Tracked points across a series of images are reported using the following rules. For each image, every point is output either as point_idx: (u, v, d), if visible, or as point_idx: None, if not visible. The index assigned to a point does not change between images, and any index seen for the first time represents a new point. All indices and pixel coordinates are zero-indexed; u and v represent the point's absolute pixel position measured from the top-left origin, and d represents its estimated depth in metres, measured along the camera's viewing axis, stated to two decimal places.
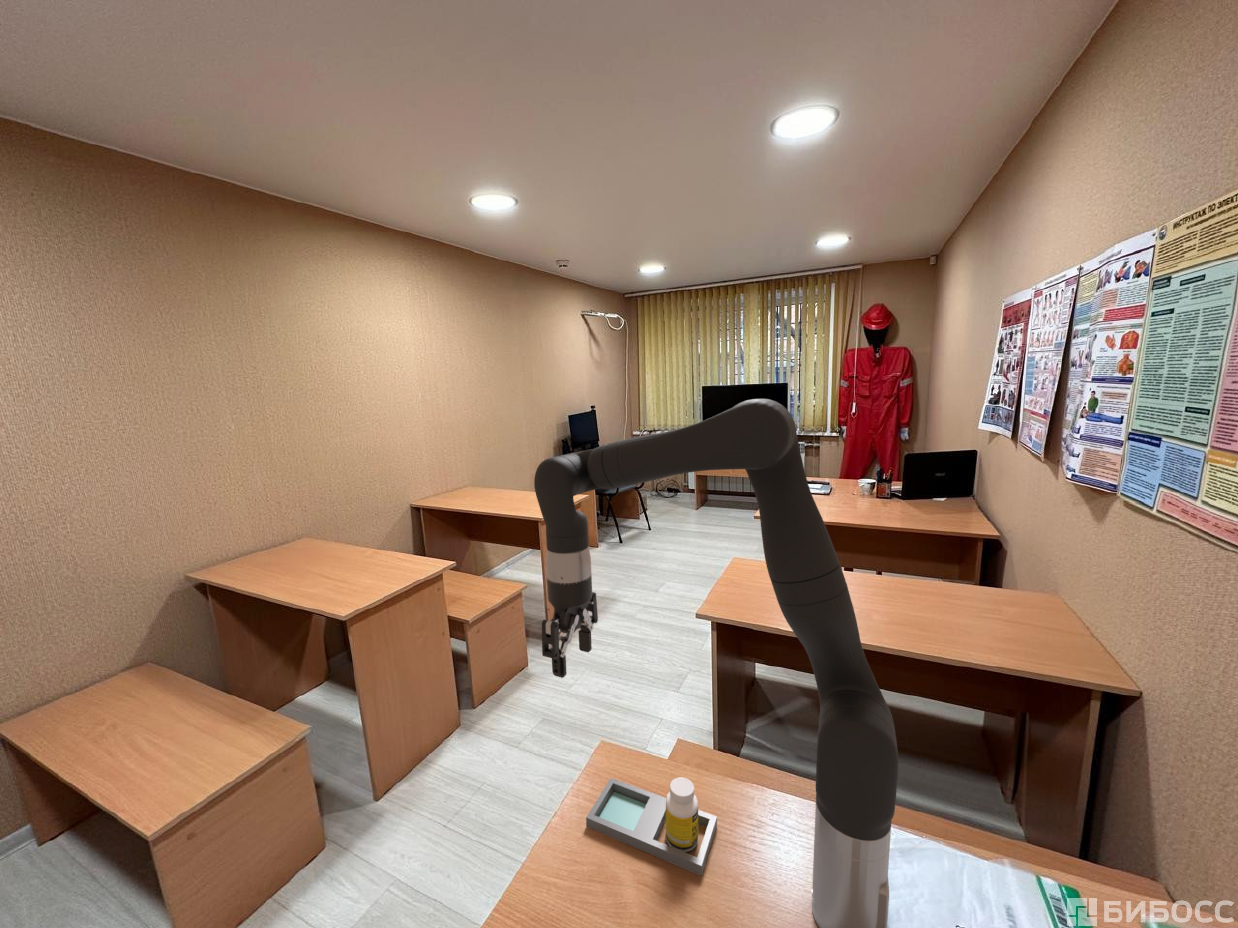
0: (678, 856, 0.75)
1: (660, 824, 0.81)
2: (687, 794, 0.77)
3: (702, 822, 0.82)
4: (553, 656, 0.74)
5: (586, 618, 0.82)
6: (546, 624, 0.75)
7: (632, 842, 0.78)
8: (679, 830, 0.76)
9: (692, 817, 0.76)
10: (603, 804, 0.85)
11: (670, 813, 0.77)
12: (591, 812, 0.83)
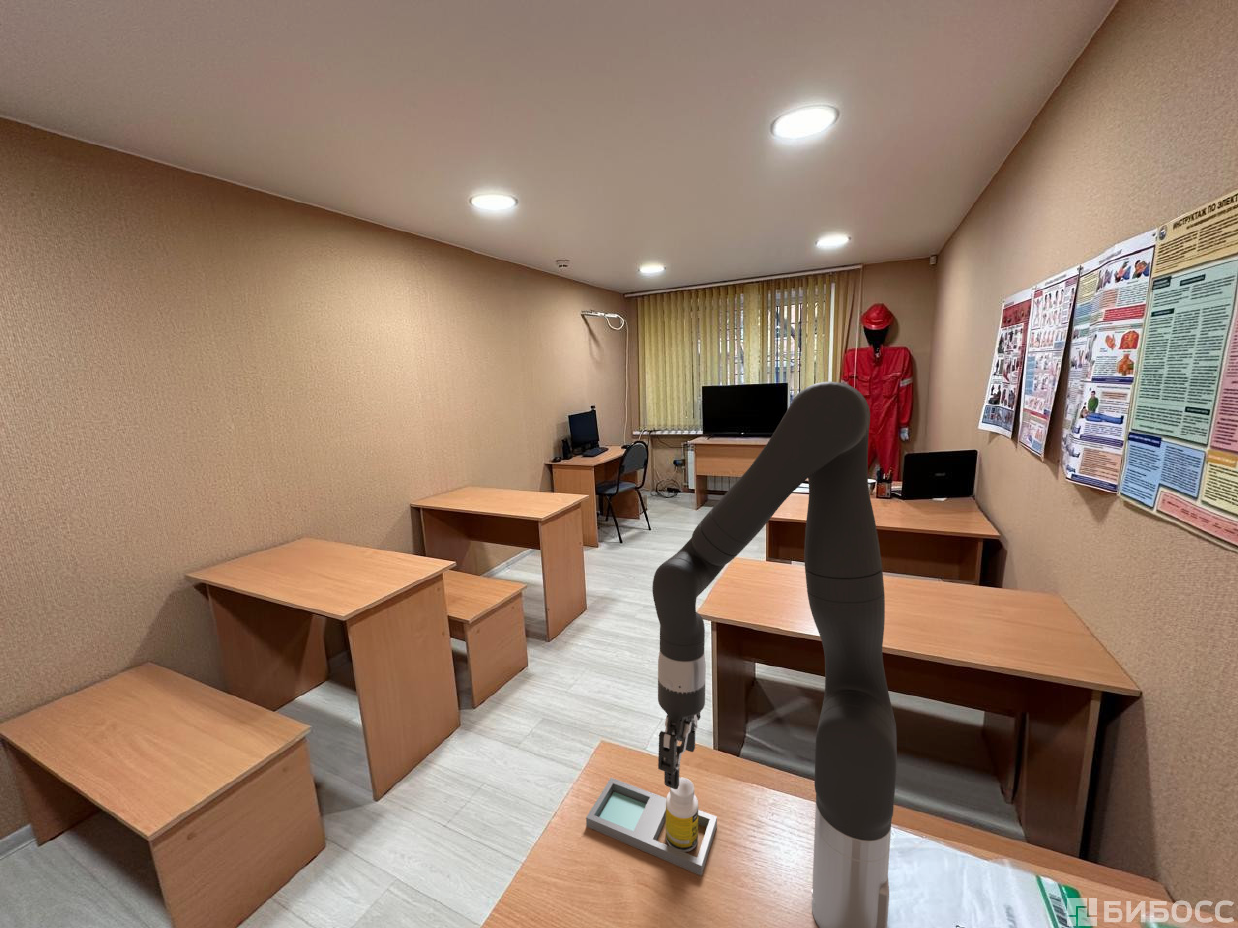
0: (678, 856, 0.75)
1: (660, 824, 0.81)
2: (687, 794, 0.77)
3: (702, 822, 0.82)
4: (671, 771, 0.70)
5: (695, 720, 0.78)
6: (664, 737, 0.70)
7: (632, 842, 0.78)
8: (679, 830, 0.76)
9: (692, 817, 0.76)
10: (603, 804, 0.85)
11: (670, 812, 0.77)
12: (591, 812, 0.83)
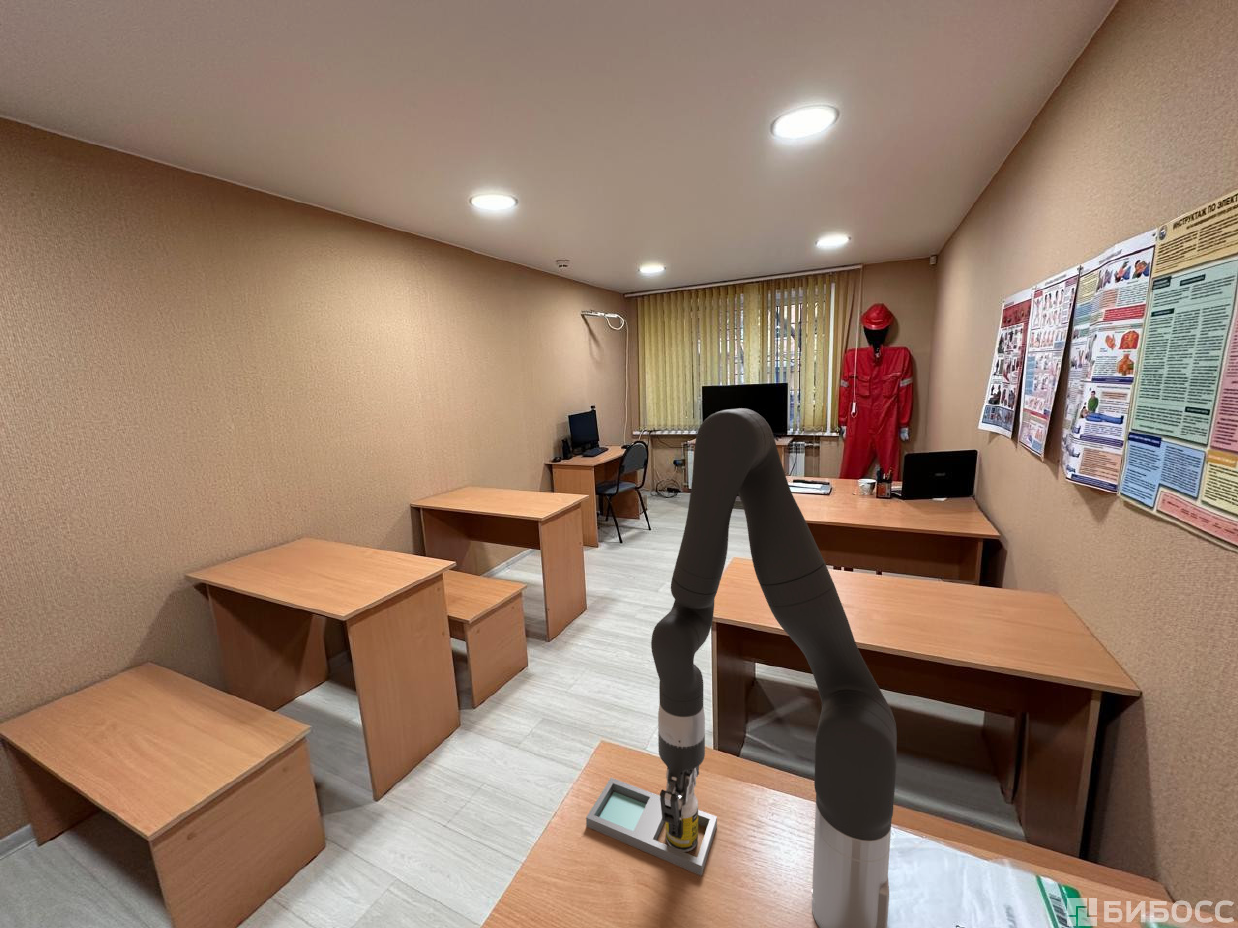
0: (678, 856, 0.75)
1: (660, 824, 0.81)
2: None
3: (702, 822, 0.82)
4: (675, 823, 0.73)
5: (694, 773, 0.79)
6: (664, 797, 0.72)
7: (632, 842, 0.78)
8: None
9: (692, 817, 0.76)
10: (603, 804, 0.85)
11: None
12: (591, 812, 0.83)
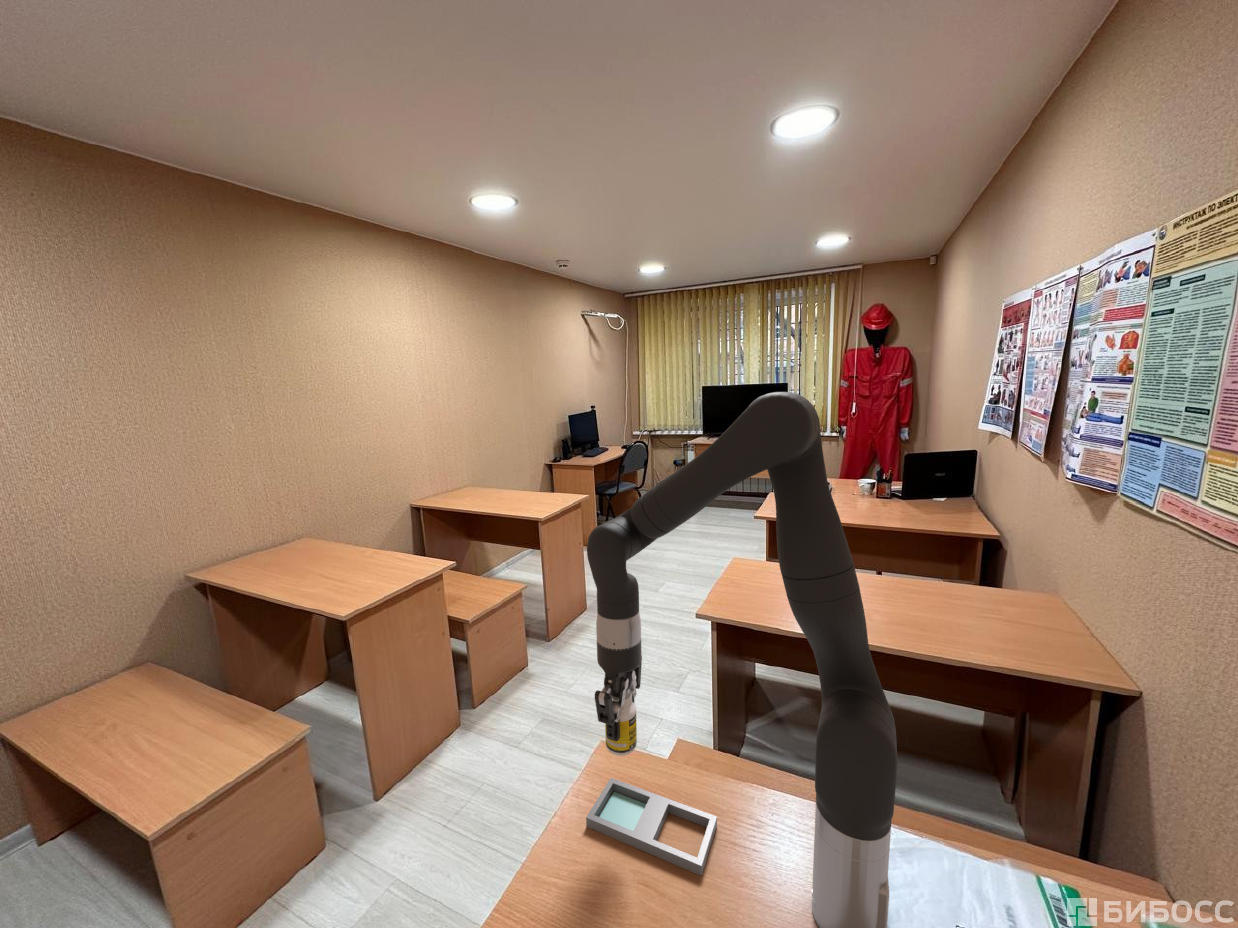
0: (678, 856, 0.75)
1: (660, 824, 0.81)
2: None
3: (702, 822, 0.82)
4: (609, 723, 0.75)
5: (633, 681, 0.81)
6: (599, 696, 0.75)
7: (632, 842, 0.78)
8: None
9: (628, 721, 0.79)
10: (603, 804, 0.85)
11: None
12: (591, 812, 0.83)
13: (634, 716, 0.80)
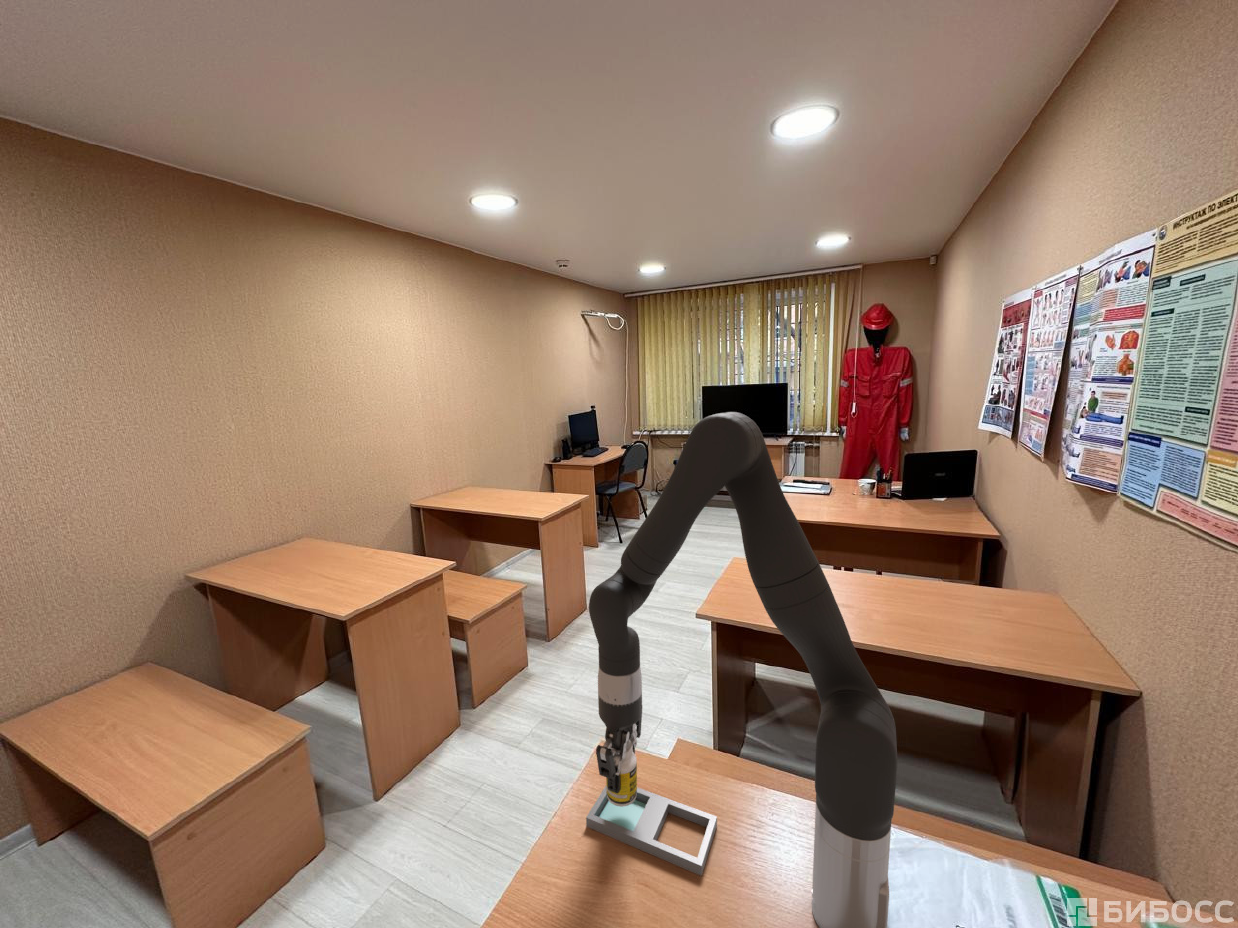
0: (678, 856, 0.75)
1: (660, 824, 0.81)
2: None
3: (702, 822, 0.82)
4: (610, 777, 0.77)
5: (634, 732, 0.83)
6: (600, 751, 0.76)
7: (632, 842, 0.78)
8: None
9: (629, 773, 0.80)
10: (603, 804, 0.85)
11: None
12: (591, 812, 0.83)
13: (634, 767, 0.81)
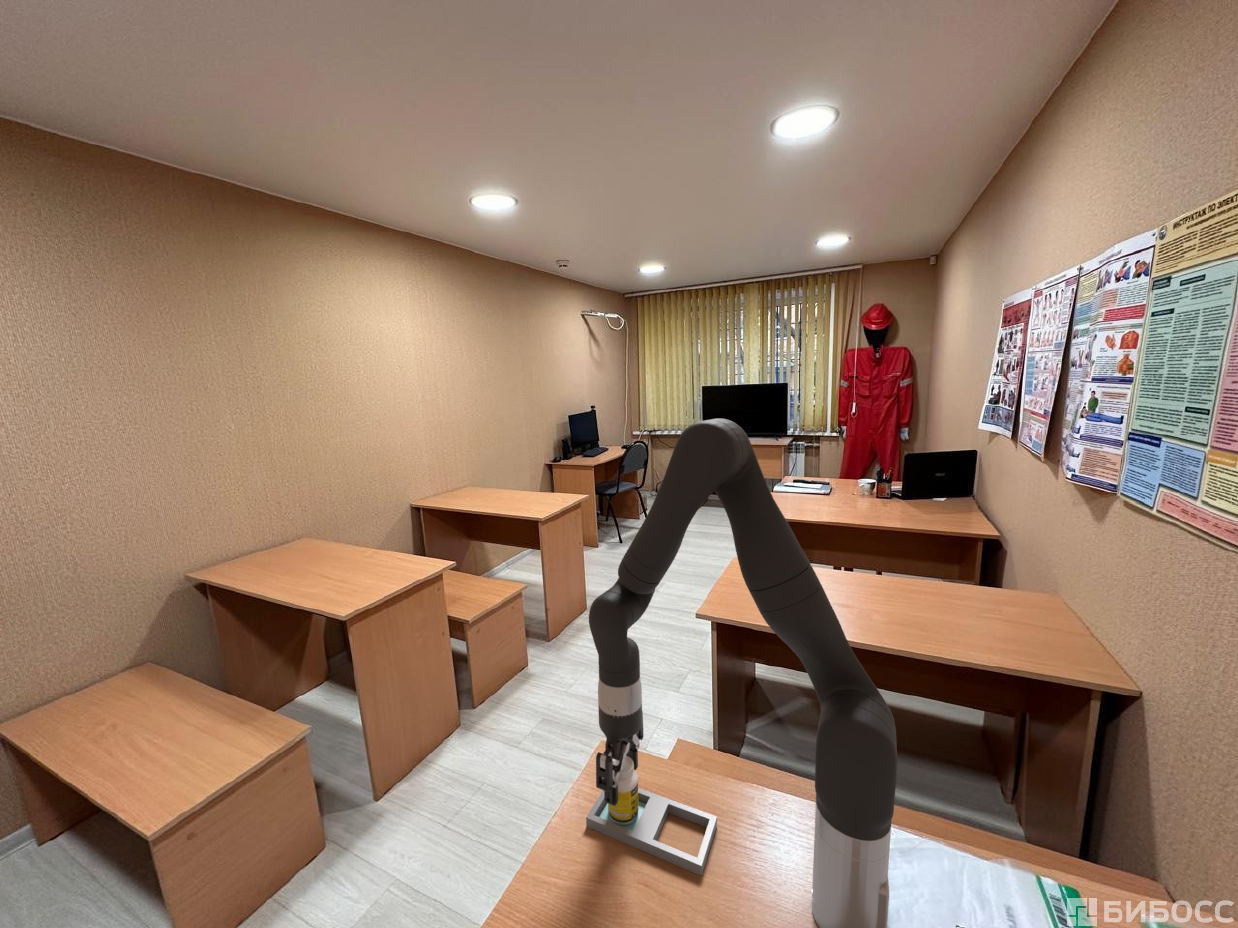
0: (678, 856, 0.75)
1: (660, 824, 0.81)
2: (626, 770, 0.81)
3: (702, 822, 0.82)
4: (607, 790, 0.76)
5: (635, 740, 0.84)
6: (600, 758, 0.76)
7: (632, 842, 0.78)
8: (619, 804, 0.81)
9: (630, 791, 0.81)
10: (603, 804, 0.85)
11: None
12: (591, 812, 0.83)
13: (636, 786, 0.82)
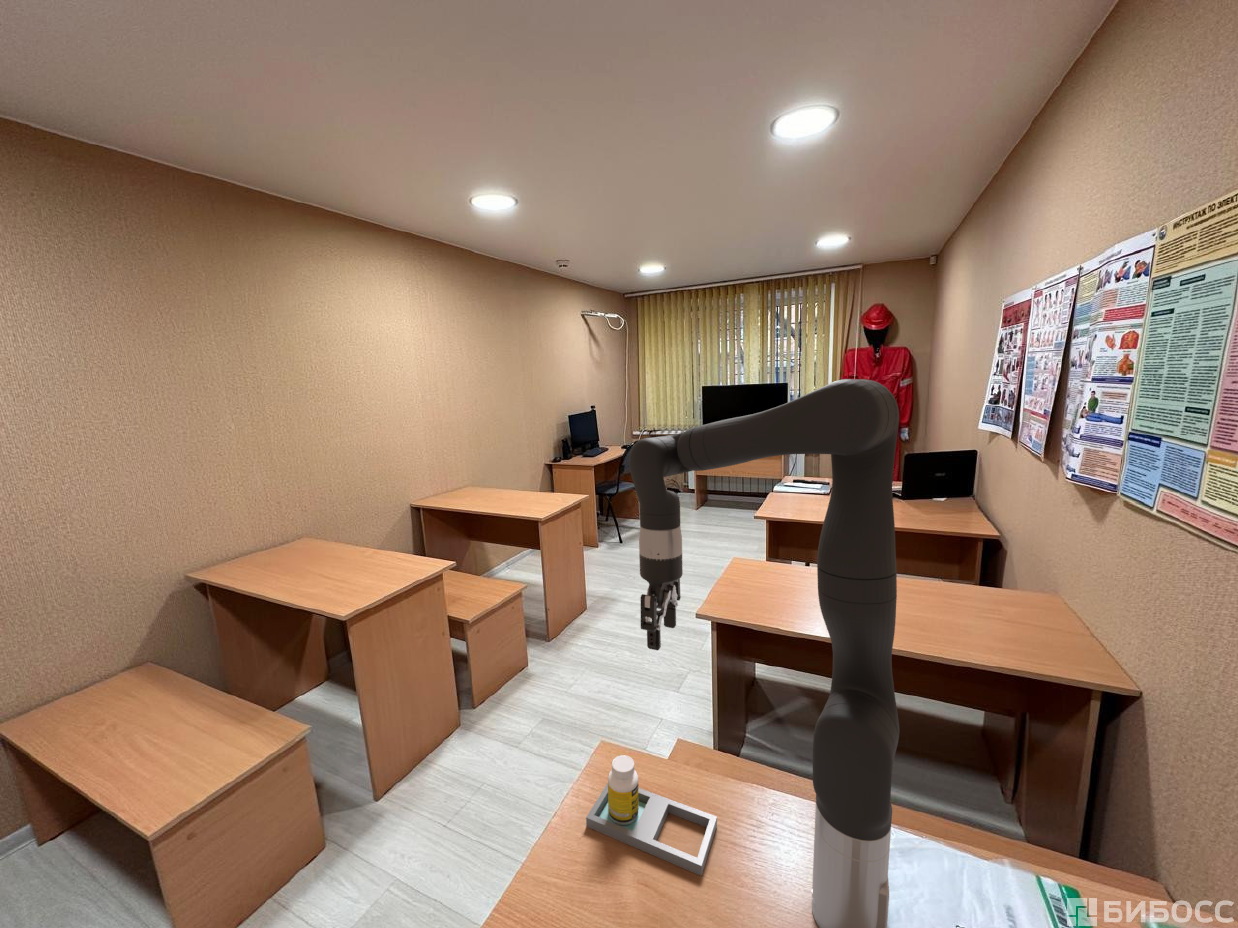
0: (678, 856, 0.75)
1: (660, 824, 0.81)
2: (627, 770, 0.81)
3: (702, 822, 0.82)
4: (652, 628, 0.78)
5: (674, 594, 0.85)
6: (645, 598, 0.78)
7: (632, 842, 0.78)
8: (619, 804, 0.81)
9: (631, 791, 0.81)
10: (603, 804, 0.85)
11: (611, 788, 0.82)
12: (591, 812, 0.83)
13: (636, 786, 0.82)
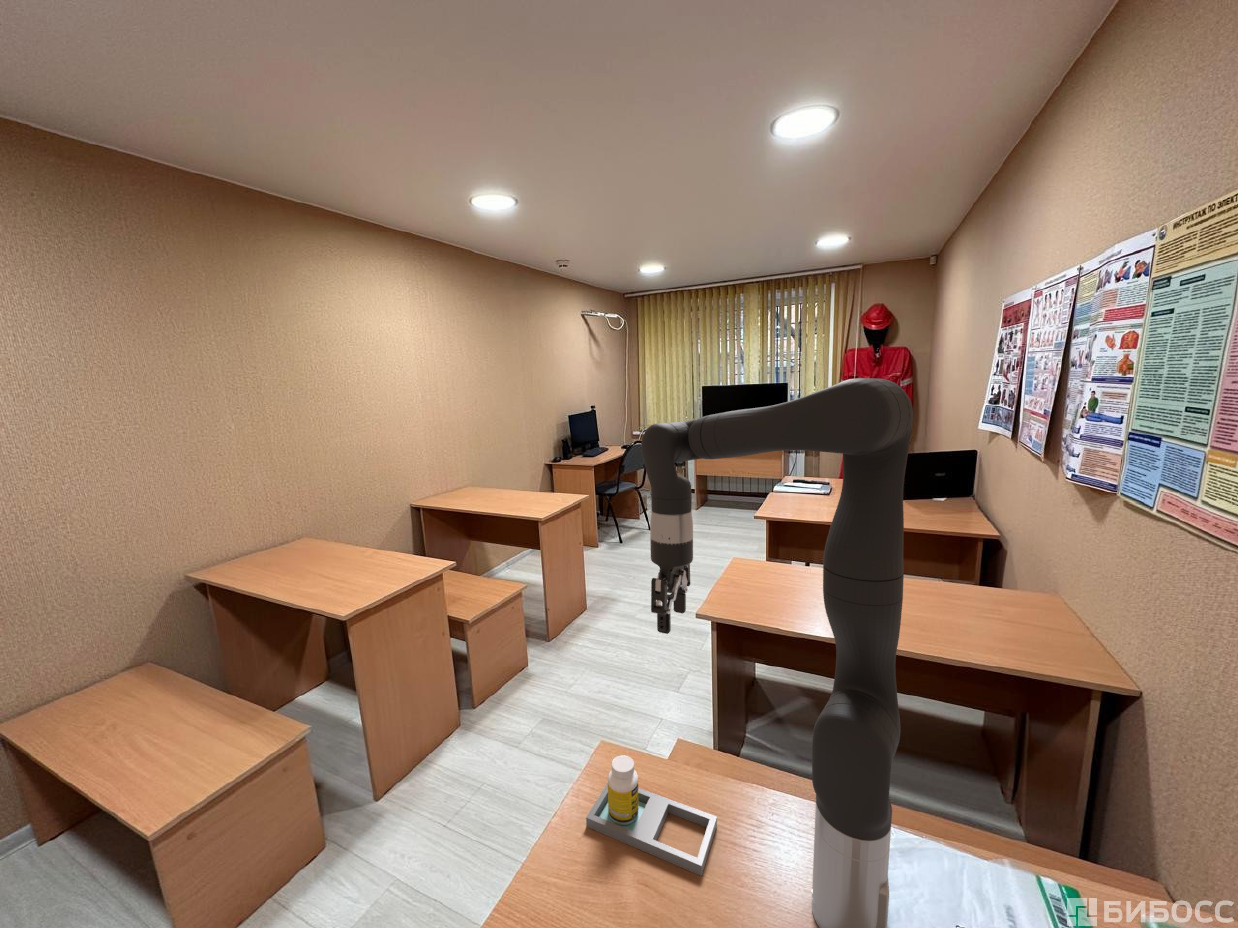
0: (678, 856, 0.75)
1: (660, 824, 0.81)
2: (627, 770, 0.81)
3: (702, 822, 0.82)
4: (662, 612, 0.78)
5: (684, 579, 0.86)
6: (655, 581, 0.79)
7: (632, 842, 0.78)
8: (619, 804, 0.81)
9: (631, 791, 0.81)
10: (603, 804, 0.85)
11: (611, 788, 0.82)
12: (591, 812, 0.83)
13: (636, 786, 0.82)
